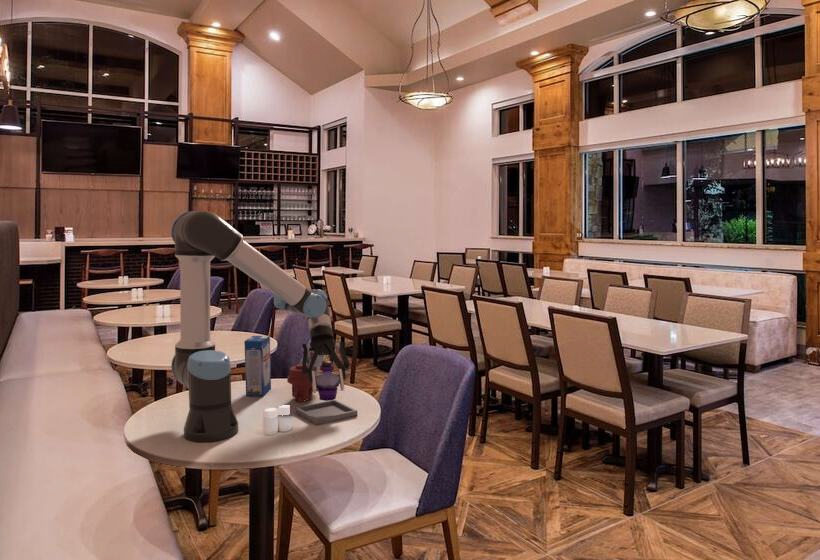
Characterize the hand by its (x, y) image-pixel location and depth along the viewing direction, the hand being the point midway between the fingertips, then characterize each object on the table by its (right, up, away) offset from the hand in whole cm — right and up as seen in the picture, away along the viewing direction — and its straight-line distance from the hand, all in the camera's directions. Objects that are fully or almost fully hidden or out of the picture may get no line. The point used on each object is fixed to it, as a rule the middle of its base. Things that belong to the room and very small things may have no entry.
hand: (328, 389), depth 186 cm
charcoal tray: (-1, -9, +4) cm, 9 cm away
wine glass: (-10, -6, +33) cm, 35 cm away
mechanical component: (-12, -7, +20) cm, 24 cm away
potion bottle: (-1, -4, +4) cm, 5 cm away
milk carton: (-29, -6, +28) cm, 41 cm away
